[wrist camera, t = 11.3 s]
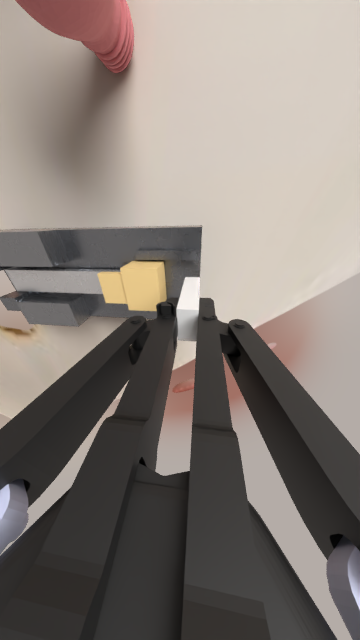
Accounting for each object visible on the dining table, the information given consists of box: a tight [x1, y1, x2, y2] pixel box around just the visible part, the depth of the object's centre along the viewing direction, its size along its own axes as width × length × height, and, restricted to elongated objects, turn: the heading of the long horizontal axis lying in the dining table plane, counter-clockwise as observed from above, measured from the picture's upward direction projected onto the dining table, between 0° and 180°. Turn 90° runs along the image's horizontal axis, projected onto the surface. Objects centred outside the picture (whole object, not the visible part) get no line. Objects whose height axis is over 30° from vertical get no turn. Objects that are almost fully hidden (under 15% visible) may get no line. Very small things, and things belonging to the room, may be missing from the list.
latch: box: [97, 261, 167, 311], centre depth 20 cm, size 7×5×4 cm
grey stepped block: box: [0, 226, 202, 326], centre depth 22 cm, size 28×12×7 cm, turn 91°
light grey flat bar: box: [5, 268, 121, 294], centre depth 22 cm, size 18×3×1 cm, turn 91°
